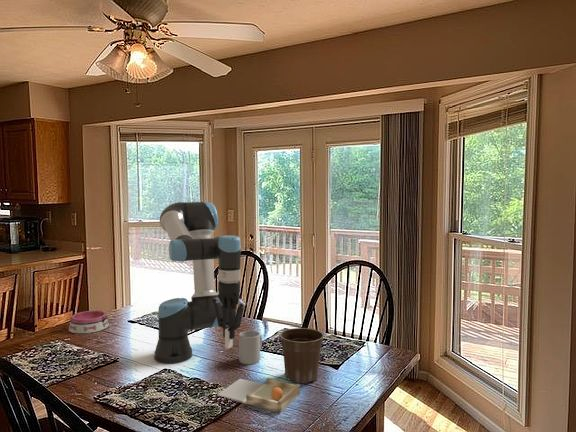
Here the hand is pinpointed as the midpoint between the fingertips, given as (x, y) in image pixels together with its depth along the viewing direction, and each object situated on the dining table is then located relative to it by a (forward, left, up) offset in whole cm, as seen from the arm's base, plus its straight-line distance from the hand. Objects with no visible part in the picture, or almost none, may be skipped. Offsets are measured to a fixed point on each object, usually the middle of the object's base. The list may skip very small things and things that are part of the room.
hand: (228, 347), depth 156 cm
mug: (-6, +25, -15) cm, 30 cm away
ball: (+20, -1, -12) cm, 23 cm away
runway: (+12, -1, -14) cm, 19 cm away
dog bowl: (-98, +22, -15) cm, 101 cm away
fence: (+18, -1, -14) cm, 23 cm away
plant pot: (+19, +19, -15) cm, 31 cm away
